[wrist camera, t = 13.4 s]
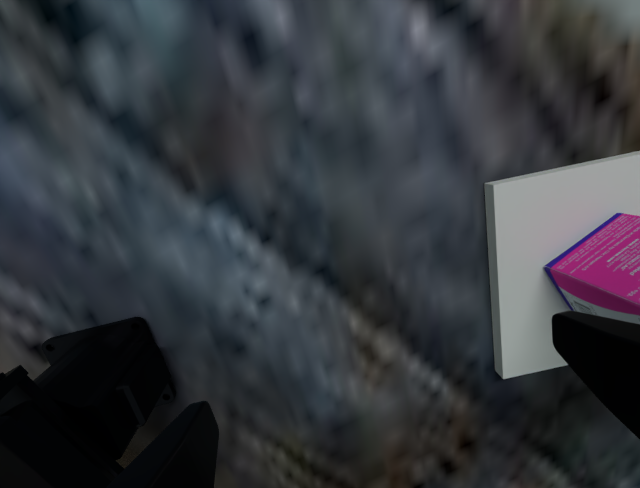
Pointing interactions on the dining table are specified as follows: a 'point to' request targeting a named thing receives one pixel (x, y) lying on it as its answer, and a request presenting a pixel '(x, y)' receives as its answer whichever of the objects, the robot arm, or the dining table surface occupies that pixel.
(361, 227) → the dining table surface
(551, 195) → the mat
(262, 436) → the dining table surface
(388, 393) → the dining table surface
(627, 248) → the supplement box
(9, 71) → the dining table surface
